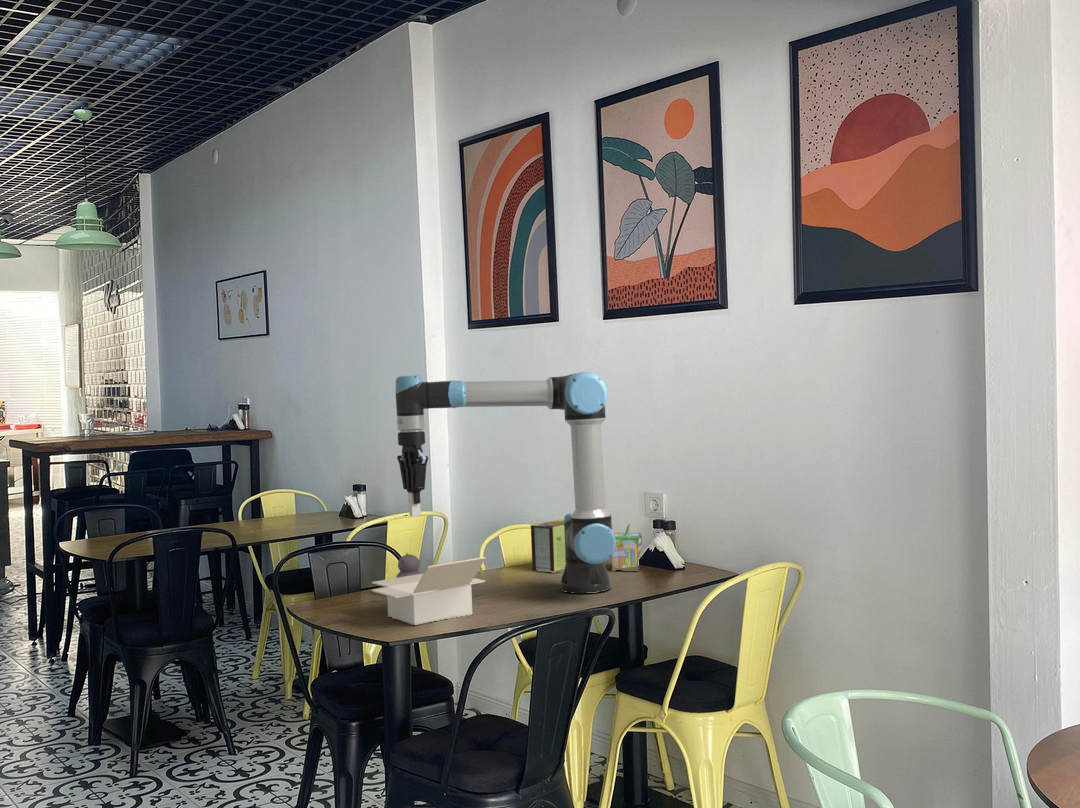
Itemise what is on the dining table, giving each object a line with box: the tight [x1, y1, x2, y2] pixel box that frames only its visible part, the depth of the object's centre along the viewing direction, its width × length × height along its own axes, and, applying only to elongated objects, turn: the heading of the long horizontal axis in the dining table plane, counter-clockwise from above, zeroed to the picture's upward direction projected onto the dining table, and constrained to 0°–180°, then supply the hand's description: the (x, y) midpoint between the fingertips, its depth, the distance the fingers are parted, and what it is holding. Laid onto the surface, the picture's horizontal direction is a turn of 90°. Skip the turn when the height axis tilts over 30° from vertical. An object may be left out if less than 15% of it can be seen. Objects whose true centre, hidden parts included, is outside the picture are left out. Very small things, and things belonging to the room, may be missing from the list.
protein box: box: [530, 519, 565, 571], centre depth 324 cm, size 10×15×16 cm
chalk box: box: [610, 523, 643, 569], centre depth 318 cm, size 9×9×15 cm
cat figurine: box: [395, 552, 422, 578], centre depth 291 cm, size 8×8×12 cm
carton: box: [371, 572, 486, 625], centre depth 265 cm, size 23×28×8 cm
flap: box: [413, 556, 486, 594], centre depth 253 cm, size 11×18×1 cm
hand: (415, 515), depth 269 cm, fingers closed
